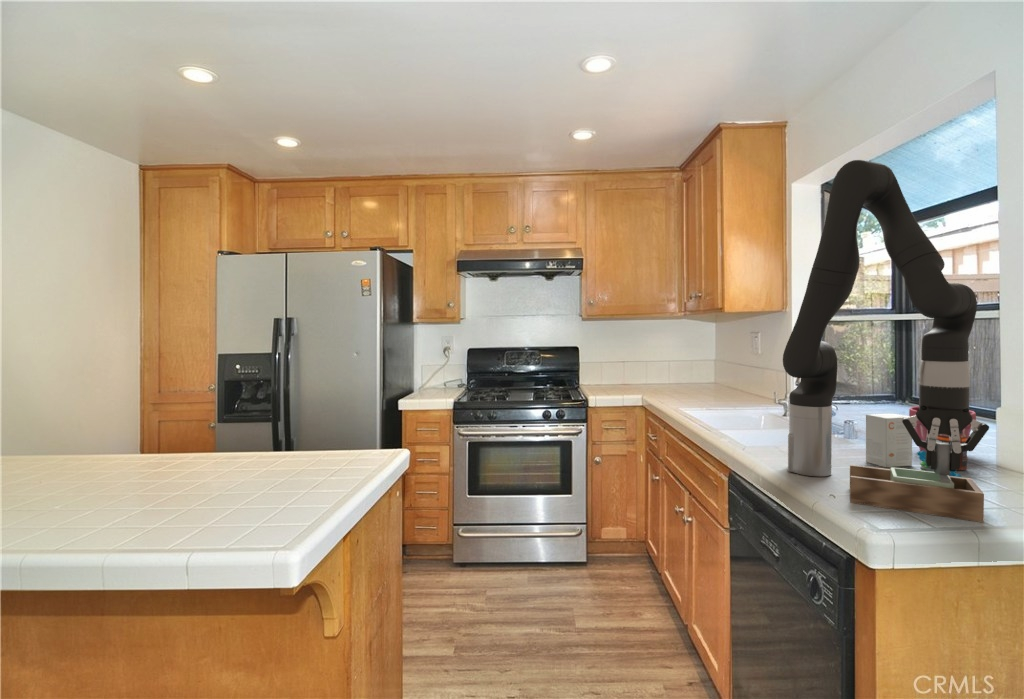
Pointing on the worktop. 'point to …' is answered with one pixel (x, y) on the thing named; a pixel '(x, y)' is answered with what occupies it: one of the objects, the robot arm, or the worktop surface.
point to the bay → (916, 494)
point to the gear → (927, 468)
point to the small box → (888, 440)
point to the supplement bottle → (963, 457)
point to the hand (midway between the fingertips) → (942, 469)
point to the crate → (927, 477)
